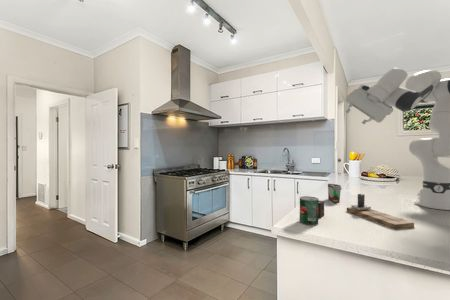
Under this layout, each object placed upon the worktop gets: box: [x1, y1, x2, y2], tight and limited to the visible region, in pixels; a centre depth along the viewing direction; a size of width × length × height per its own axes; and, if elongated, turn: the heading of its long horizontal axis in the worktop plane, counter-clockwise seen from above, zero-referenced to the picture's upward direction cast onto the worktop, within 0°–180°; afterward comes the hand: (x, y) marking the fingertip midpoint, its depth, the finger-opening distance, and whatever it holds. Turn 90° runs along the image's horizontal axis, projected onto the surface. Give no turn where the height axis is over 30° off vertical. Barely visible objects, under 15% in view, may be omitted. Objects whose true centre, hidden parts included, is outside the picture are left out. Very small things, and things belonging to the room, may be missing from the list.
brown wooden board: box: [346, 206, 415, 230], centre depth 104 cm, size 26×10×2 cm, turn 13°
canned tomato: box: [299, 195, 320, 227], centre depth 99 cm, size 8×8×11 cm
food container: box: [327, 183, 343, 204], centre depth 137 cm, size 12×6×10 cm, turn 171°
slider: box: [350, 193, 372, 210], centre depth 113 cm, size 5×7×7 cm
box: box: [318, 199, 325, 219], centre depth 108 cm, size 6×6×7 cm
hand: (354, 117), depth 111 cm, fingers open, 8 cm apart
